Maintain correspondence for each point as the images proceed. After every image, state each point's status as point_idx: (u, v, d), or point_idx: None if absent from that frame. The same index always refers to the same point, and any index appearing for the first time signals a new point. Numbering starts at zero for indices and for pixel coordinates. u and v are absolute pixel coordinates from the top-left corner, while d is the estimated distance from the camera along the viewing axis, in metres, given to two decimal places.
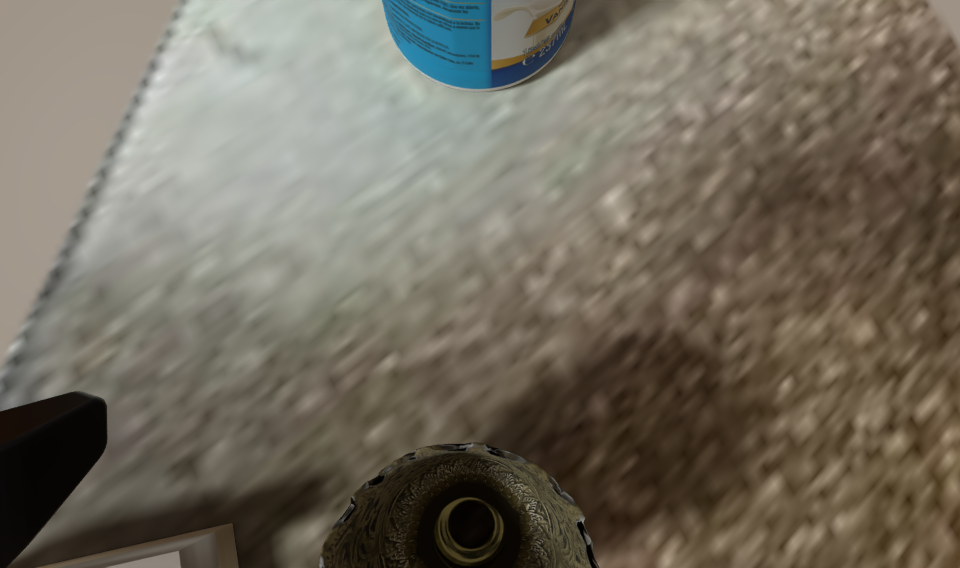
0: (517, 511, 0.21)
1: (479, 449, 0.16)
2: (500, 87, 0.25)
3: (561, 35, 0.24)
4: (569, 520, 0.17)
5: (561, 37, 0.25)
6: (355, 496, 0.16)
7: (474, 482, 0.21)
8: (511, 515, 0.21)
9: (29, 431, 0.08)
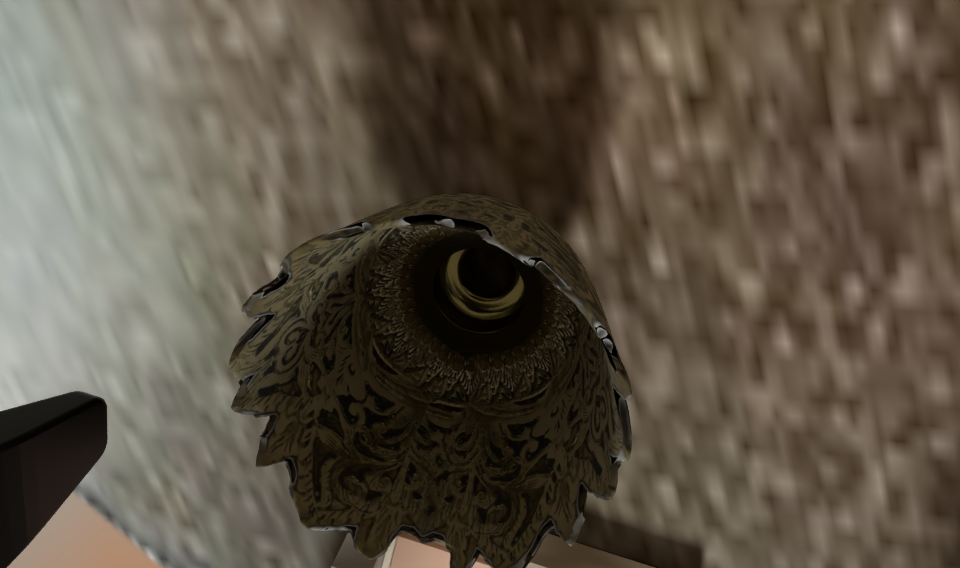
0: None
1: (259, 303, 0.11)
2: None
3: None
4: (441, 216, 0.11)
5: None
6: (259, 464, 0.12)
7: (419, 258, 0.16)
8: (478, 236, 0.16)
9: (29, 431, 0.08)
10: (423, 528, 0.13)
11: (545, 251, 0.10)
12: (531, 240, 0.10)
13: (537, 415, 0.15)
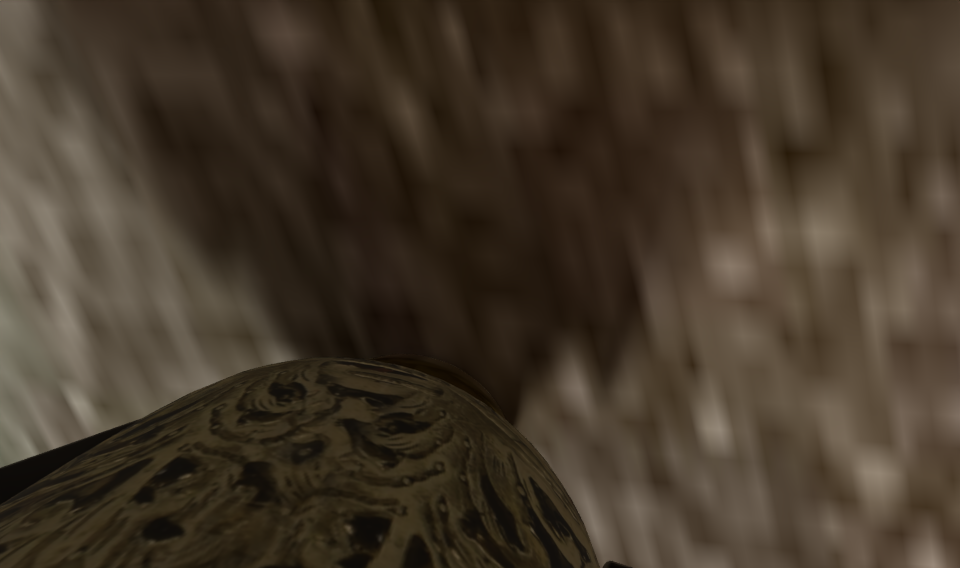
0: None
1: None
2: None
3: None
4: None
5: None
6: None
7: None
8: None
9: None
10: None
11: None
12: None
13: None
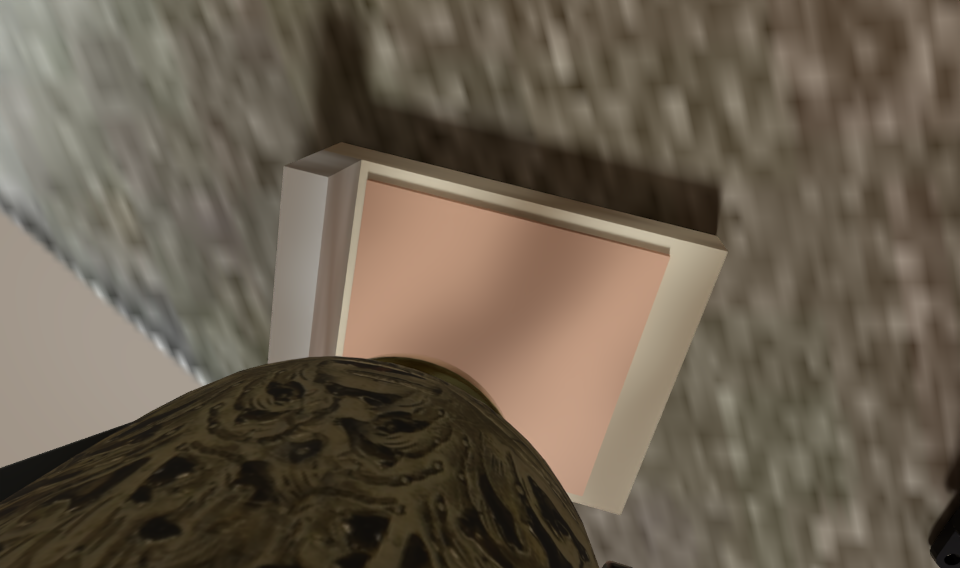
0: None
1: None
2: None
3: None
4: None
5: None
6: None
7: None
8: None
9: None
10: None
11: None
12: None
13: None
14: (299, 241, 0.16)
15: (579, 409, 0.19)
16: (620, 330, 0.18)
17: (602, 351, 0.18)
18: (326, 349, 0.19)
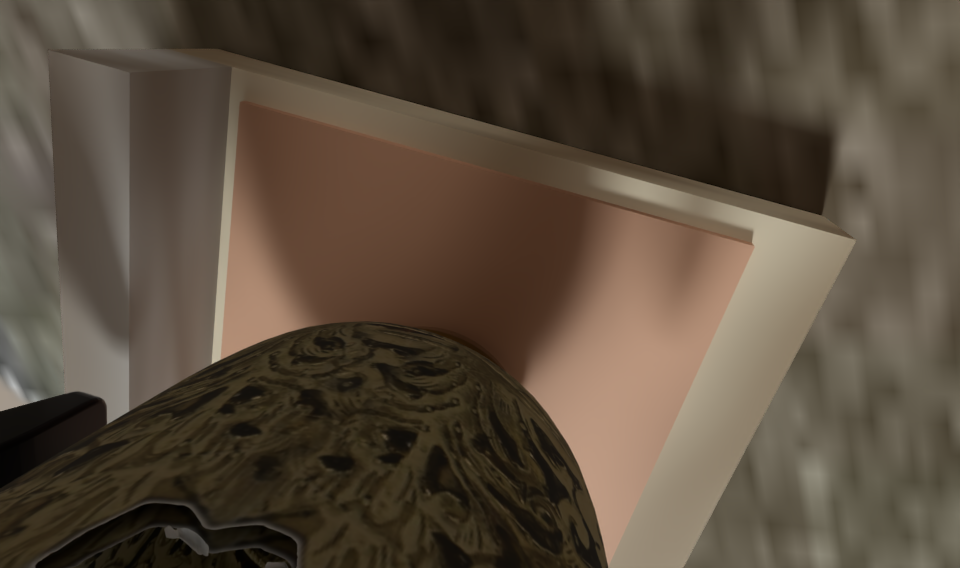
0: None
1: None
2: None
3: None
4: None
5: None
6: None
7: None
8: None
9: (29, 431, 0.08)
10: None
11: None
12: (430, 545, 0.04)
13: None
14: (91, 196, 0.09)
15: None
16: (659, 367, 0.11)
17: (628, 400, 0.11)
18: None
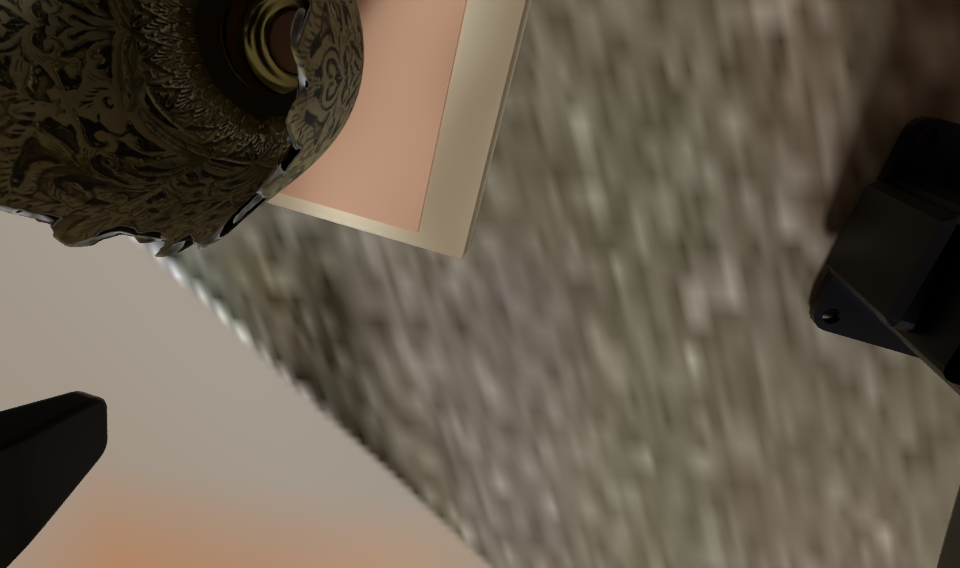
0: None
1: None
2: None
3: None
4: None
5: None
6: None
7: (197, 0, 0.15)
8: None
9: (29, 431, 0.08)
10: (144, 229, 0.12)
11: None
12: None
13: None
14: None
15: (404, 114, 0.17)
16: (441, 1, 0.16)
17: (423, 32, 0.16)
18: None
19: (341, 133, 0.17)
